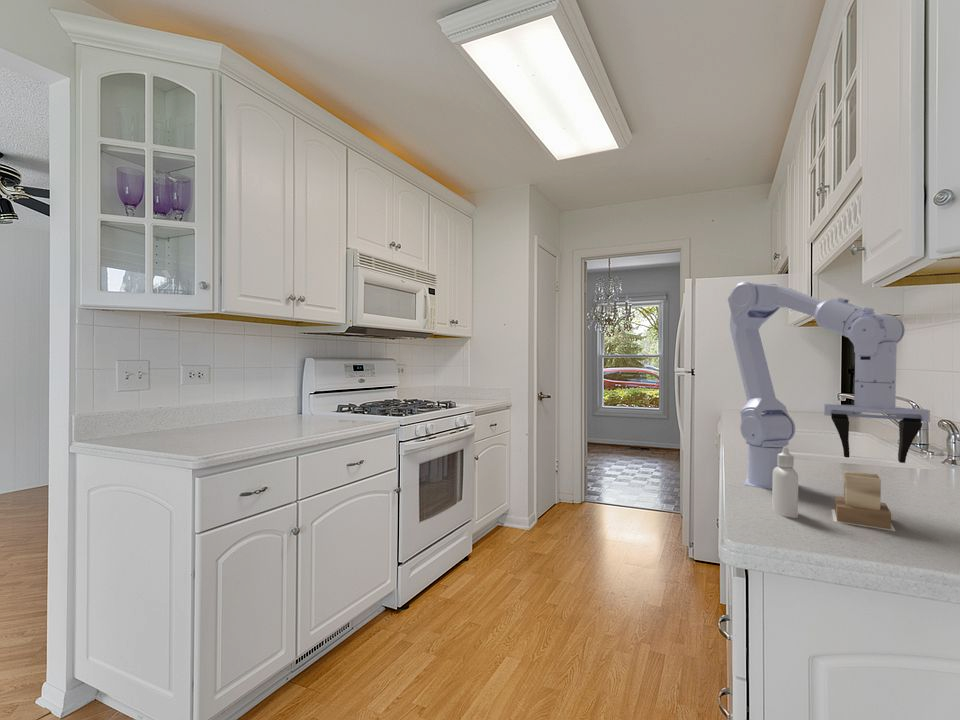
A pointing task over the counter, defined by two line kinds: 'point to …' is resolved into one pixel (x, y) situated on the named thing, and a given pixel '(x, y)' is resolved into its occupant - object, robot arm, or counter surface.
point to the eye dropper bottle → (785, 486)
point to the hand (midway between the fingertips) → (873, 459)
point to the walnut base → (863, 514)
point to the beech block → (862, 490)
